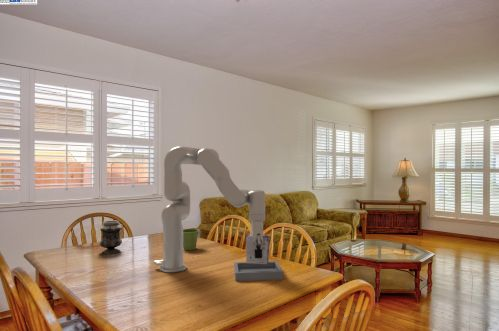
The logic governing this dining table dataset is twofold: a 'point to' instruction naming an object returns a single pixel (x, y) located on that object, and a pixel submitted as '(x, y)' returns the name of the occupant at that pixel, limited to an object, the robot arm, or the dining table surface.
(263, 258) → the ink cartridge box
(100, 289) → the dining table surface
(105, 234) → the apothecary jar
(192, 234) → the plant pot
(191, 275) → the dining table surface
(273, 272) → the trough
